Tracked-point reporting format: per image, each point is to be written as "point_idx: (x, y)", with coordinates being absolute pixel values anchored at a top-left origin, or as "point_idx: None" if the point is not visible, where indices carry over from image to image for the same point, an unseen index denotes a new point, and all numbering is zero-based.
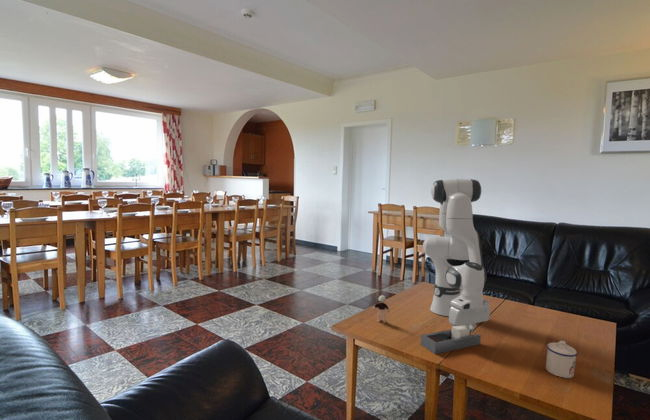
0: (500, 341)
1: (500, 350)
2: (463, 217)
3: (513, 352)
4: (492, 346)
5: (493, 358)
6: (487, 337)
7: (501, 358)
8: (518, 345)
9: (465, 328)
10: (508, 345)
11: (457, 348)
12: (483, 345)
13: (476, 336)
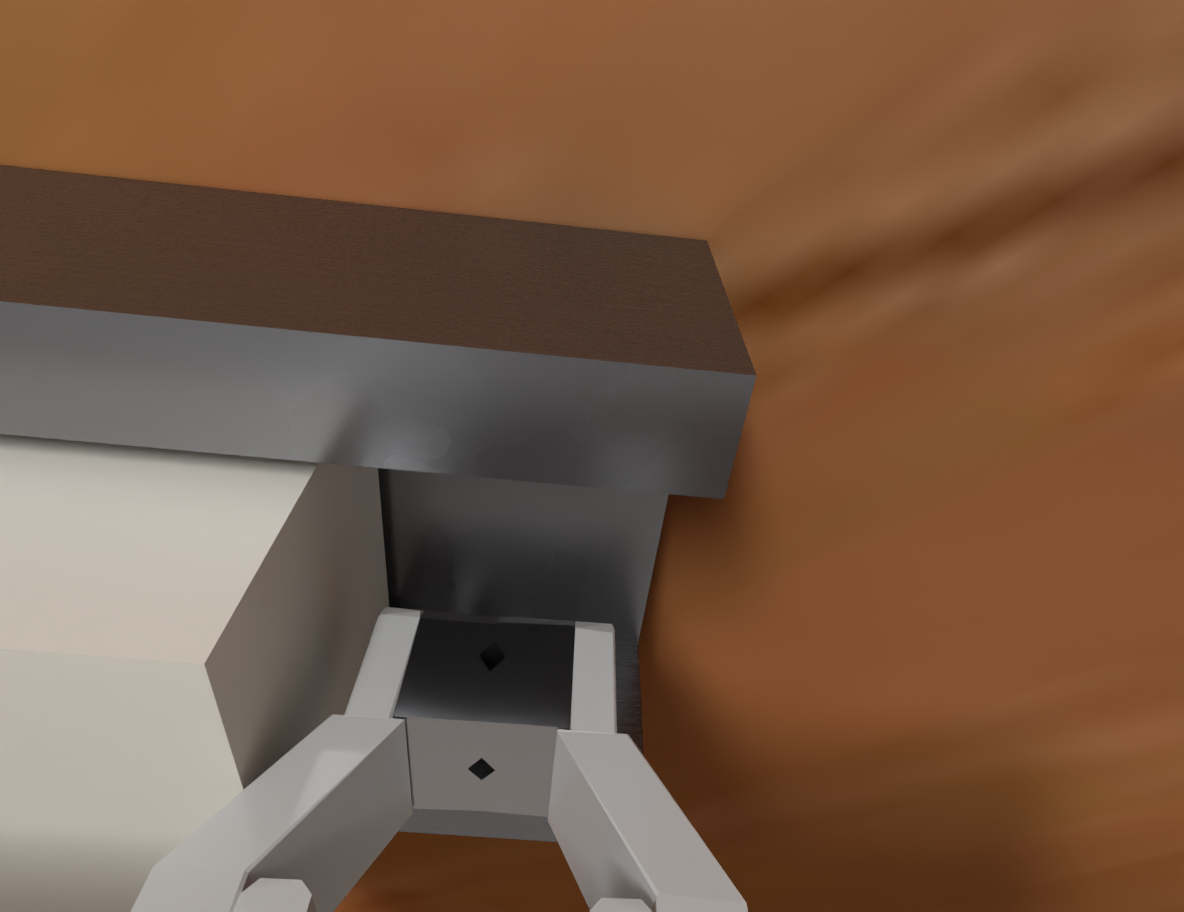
0: (1100, 717)
1: (738, 833)
2: None
3: (839, 896)
4: (762, 751)
5: (431, 881)
6: (1113, 549)
7: (533, 905)
8: (1151, 850)
9: None
10: (1027, 810)
11: None
12: (652, 688)
13: (485, 830)
